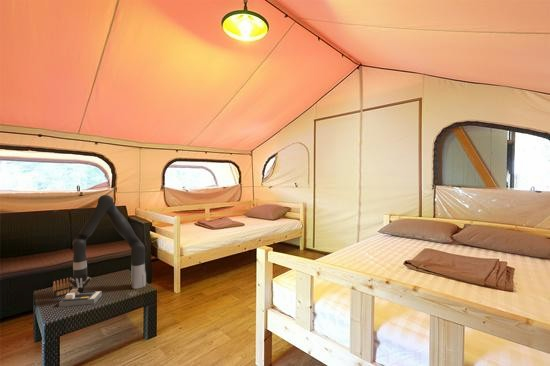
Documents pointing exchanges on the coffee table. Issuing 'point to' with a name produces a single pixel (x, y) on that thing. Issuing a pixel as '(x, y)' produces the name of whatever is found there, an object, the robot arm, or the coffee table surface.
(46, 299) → the coffee table surface
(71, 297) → the switch
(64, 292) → the ammunition clip
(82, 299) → the switch panel
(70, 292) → the switch
